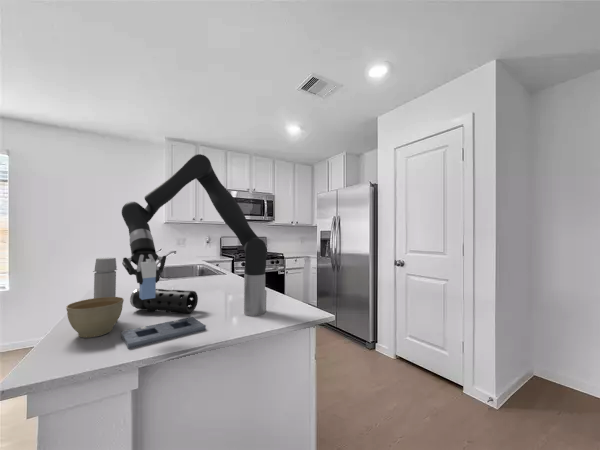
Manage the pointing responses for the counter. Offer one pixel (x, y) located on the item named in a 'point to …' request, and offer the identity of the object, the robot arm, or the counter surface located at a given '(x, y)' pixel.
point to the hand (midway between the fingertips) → (149, 282)
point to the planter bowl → (94, 315)
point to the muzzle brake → (166, 301)
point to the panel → (161, 332)
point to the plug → (148, 280)
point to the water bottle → (105, 277)
